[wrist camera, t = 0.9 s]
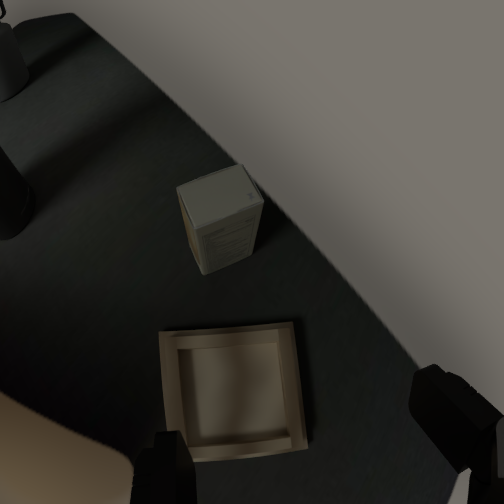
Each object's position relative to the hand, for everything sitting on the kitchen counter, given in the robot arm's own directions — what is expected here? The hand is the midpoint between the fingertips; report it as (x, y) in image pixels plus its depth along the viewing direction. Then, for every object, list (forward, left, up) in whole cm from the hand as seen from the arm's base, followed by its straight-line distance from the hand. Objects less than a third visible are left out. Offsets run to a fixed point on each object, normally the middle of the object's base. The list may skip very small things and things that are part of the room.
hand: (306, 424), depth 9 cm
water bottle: (-44, +56, -24) cm, 75 cm away
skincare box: (-1, +16, -24) cm, 29 cm away
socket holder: (-1, 0, -24) cm, 24 cm away
